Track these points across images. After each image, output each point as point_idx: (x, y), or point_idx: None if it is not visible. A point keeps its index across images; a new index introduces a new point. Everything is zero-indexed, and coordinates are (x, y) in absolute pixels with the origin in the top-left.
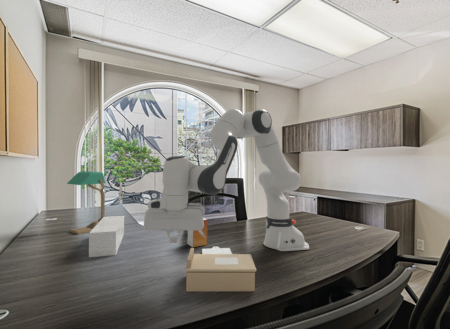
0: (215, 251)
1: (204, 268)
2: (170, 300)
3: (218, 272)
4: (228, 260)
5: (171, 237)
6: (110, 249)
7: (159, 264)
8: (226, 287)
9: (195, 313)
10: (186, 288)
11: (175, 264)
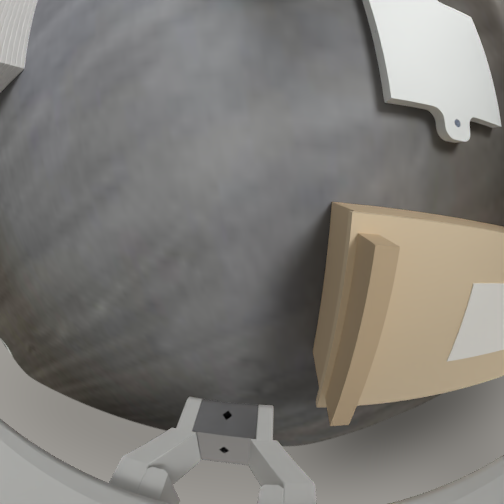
0: (429, 23)
1: (397, 395)
2: (263, 388)
3: None
4: (501, 316)
5: (199, 451)
6: (1, 74)
7: (163, 104)
8: None
9: (329, 426)
10: (314, 357)
11: (243, 99)
